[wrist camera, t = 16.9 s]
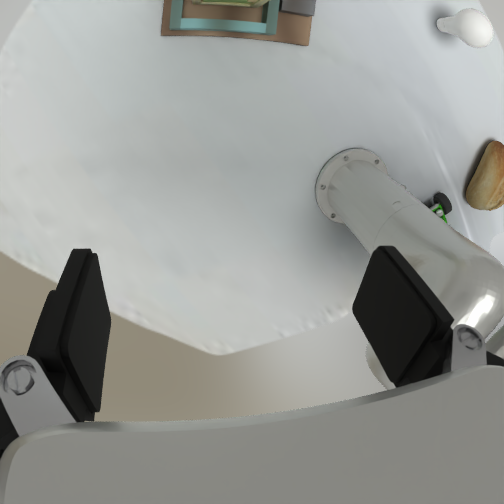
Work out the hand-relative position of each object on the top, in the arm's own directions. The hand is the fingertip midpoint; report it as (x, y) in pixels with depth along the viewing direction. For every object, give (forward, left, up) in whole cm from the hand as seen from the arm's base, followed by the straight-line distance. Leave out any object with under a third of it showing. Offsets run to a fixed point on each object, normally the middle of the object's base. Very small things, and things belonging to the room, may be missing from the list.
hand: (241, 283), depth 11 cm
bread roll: (-55, +4, -35) cm, 65 cm away
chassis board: (-4, -17, -34) cm, 38 cm away
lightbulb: (-35, -20, -34) cm, 53 cm away
